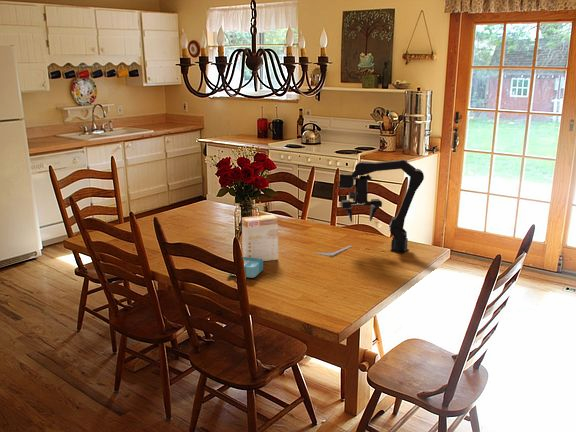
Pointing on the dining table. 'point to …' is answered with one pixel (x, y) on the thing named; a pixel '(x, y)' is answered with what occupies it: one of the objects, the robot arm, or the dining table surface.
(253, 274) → the data package
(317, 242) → the dining table surface
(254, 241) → the coffeecake box
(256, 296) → the dining table surface
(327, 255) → the grey boomerang
